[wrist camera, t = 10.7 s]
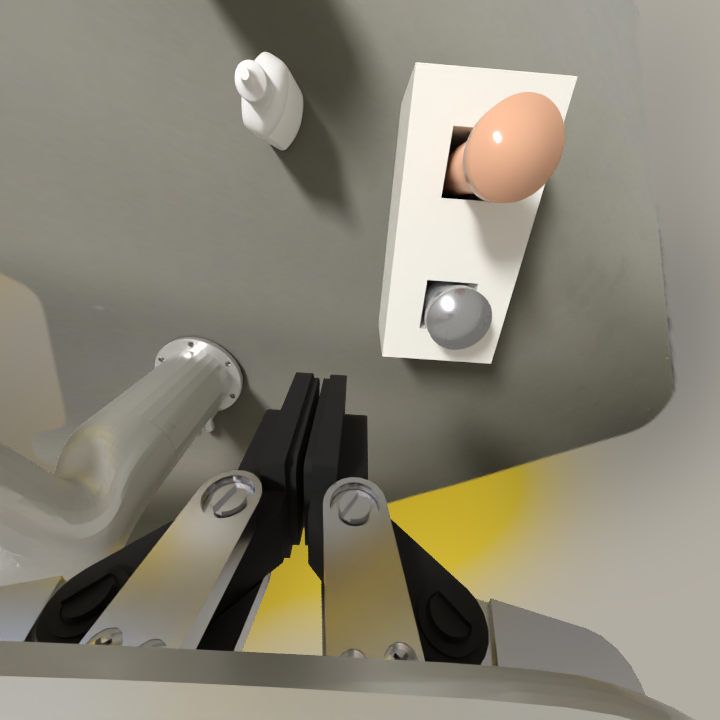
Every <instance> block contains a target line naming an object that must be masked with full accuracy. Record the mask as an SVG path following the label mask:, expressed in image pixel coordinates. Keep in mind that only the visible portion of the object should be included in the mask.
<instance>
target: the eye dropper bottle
mask: <svg viewBox="0 0 720 720" xmlns="http://www.w3.org/2000/svg"><path fill="white" fill-rule="evenodd" d="M235 84H236V88H237V90H238V92H239V94H240V95H241V96H242V116H243V121H244V124H245V126H246V127H247V128H248V129H249V130H250V131H251V132H253V133H254V134H256V135H257V136H259V137H260V138H261V139H263V140H264V141H266V142H267V143H269V144H271V145H272V146H274V147H276V148H277V149H279V150H286V149H287V148H288V147H289V146H290V145H291V143H292V142H293V140H294V139H295V137H296V135H297V133H298V131H299V128H300V125H301V121H302V115H303V95H302V92H301V90H300V89H299V87H298V85H297V83H296V81H295V79H294V78H293V76H292V74H291V72H290V71H289V69H288V67H287V66H286V65H285V64H284V62H283V61H281V60H280V59H278V58H277V57H275V56H274V55H272V54H270V53H269V52H263V53H261V54H260V55H259V56H258V57H257V58H256V59H255V60H254V61H253V60H245V61H242V62H241V63H239V65H238V66H237V68H236V72H235Z"/></svg>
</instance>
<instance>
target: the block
mask: <svg viewBox="0 0 720 720" xmlns="http://www.w3.org/2000/svg"><path fill="white" fill-rule="evenodd" d="M576 80H577V76H568V75H556V74H545V73H533V72H522V71H510V70H499V69H487V68H476V67H464V66H453V65H441V64H430V63H418V62H416V63H415V66H414V69H413V72H412V75H411V78H410V80H409V83H408V86H407V89H406V92H405V95H404V98H403V100H402V103H401V110H400V120H399V130H398V140H397V149H396V159H395V169H394V179H393V188H392V198H391V208H390V217H389V227H388V237H387V247H386V256H385V266H384V276H383V286H382V295H381V305H380V315H379V333H380V341H381V350H382V356H386V357H400V358H415V359H430V360H444V361H459V362H474V363H488V364H491V362H492V359H493V355H494V352H495V349H496V346H497V342H498V339H499V336H500V332H501V329H502V326H503V322H504V319H505V316H506V312H507V309H508V306H509V302H510V299H511V296H512V292H513V289H514V286H515V282H516V279H517V276H518V272H519V269H520V266H521V262H522V259H523V256H524V252H525V249H526V246H527V242H528V239H529V236H530V233H531V229H532V226H533V223H534V219H535V216H536V213H537V209H538V206H539V203H540V199H541V196H542V193H543V189H544V186H545V184H544V185H543V186H542V187H541V188H540V189H539V190H538V191H537V192H535V193H534V194H533V195H531V196H529V197H527V198H525V199H523V200H520V201H517V202H512V203H490V202H487V201H484V200H482V199H480V198H479V197H477V196H476V195H475V194H467V195H466V198H465V200H462V199H449V198H441V196H442V190H443V184H444V178H445V172H446V166H447V161H448V155H449V150H454V149H456V148H457V147H459V146H460V145H462V144H463V143H465V142H466V141H467V139H468V137H469V135H470V133H471V131H472V129H473V127H474V126H475V124H476V123H477V122H478V120H479V119H480V118H481V117H482V116H483V115H484V114H485V113H486V112H488V111H489V110H490V109H491V108H493V107H494V106H495V105H496V104H498V103H499V102H500V101H502V100H503V99H505V98H507V97H509V96H511V95H514V94H517V93H522V92H535V93H539V94H542V95H544V96H546V97H547V98H549V99H550V100H551V101H552V102H553V103H554V104H555V105H556V106H557V108H558V109H559V111H560V113H561V116H562V118H563V123H564V120H565V116H566V113H567V110H568V106H569V103H570V100H571V96H572V93H573V90H574V86H575V83H576ZM427 280H434V281H448V282H452V283H453V284H455V285H464V286H468V287H471V288H473V289H475V290H476V291H478V292H479V293H480V294H482V295H483V296H484V297H485V298H486V299H487V300H488V302H489V304H490V306H491V309H492V321H491V325H490V328H489V330H488V331H487V333H486V334H485V336H484V337H483V338H482V339H481V340H480V341H478V342H477V343H476V344H474V345H472V346H470V347H468V348H465V349H460V350H451V349H446V348H443V347H441V346H440V345H438V344H437V343H436V342H435V341H434V340H433V339H432V338H431V336H430V334H429V332H428V330H427V328H426V325H425V311H426V310H425V308H424V306H423V303H424V297H425V291H426V285H427Z"/></svg>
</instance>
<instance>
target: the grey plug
mask: <svg viewBox="0 0 720 720" xmlns="http://www.w3.org/2000/svg"><path fill="white" fill-rule="evenodd" d="M423 306H424V308H425V310H426V311H425V325H426V328H427V330H428V332H429V334H430V336H431V338H432V339H433V340H434V341H435V342H436V343H437V344H438V345H440V346H441V347H443V348H446V349H451V350H460V349H465V348H468V347H470V346H472V345H474V344H476V343H477V342H478V341H480V340H481V339H482V338H483V337H484V336H485V334H486V333H487V331H488V330H489V328H490V325H491V321H492V309H491V306H490V304H489V302H488V300H487V299H486V298H485V297H484V296H483V295H482V294H480V293H479V292H478V291H476V290H475V289H473V288H471V287H468V286H464V285H455V284H453V283H452V282H448V281H434V280H427V285H426V291H425V297H424V303H423Z"/></svg>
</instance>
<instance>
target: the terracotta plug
mask: <svg viewBox="0 0 720 720" xmlns="http://www.w3.org/2000/svg"><path fill="white" fill-rule="evenodd" d="M564 141H565V129H564V123H563V118H562V116H561V113H560V111H559V109H558V108H557V106H556V105H555V104H554V103H553V102H552V101H551V100H550V99H549V98H547V97H546V96H544V95H542V94H539V93H535V92H522V93H517V94H514V95H511V96H509V97H507V98H505V99H503V100H502V101H500V102H499V103H498V104H496V105H495V106H494V107H493V108H491V109H490V110H489V111H488V112H486V113H485V114H484V115H483V116H482V117H481V118H480V119H479V120H478V122H477V123H476V124H475V126H474V127H473V129H472V131H471V133H470V135H469V137H468V139H467V141H466V142H465V143H463V144H462V145H460V146H459V147H457V148H456V149H454V150H453V151H451V152H450V153H449V155H448V161H447V166H446V172H445V178H444V184H443V190H442V193H443V194H445V195H448V196H459V195H467V194H475V195H476V196H477V197H479V198H480V199H482V200H484V201H487V202H490V203H512V202H517V201H520V200H523V199H525V198H527V197H529V196H531V195H533V194H534V193H535V192H537V191H538V190H539V189H540V188H541V187H542V186H543V185H544V184H545V183H546V182H547V181H548V180H549V178H550V177H551V176H552V174H553V173H554V171H555V169H556V167H557V165H558V163H559V161H560V158H561V155H562V152H563V148H564Z"/></svg>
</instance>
